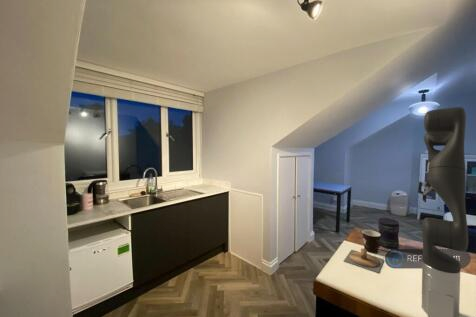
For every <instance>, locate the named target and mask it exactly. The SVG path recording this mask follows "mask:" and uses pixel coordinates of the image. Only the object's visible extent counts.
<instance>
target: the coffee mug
mask: <svg viewBox="0 0 476 317" xmlns="http://www.w3.org/2000/svg"><path fill="white" fill-rule="evenodd" d="M361 232H362V240H363V249H366V250H367V253H371V254H378V253H379V249H380V247H381V246H380V236H381V234H380V233H379V231H375V230H371V229H364V230H362V231H361Z"/></svg>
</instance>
